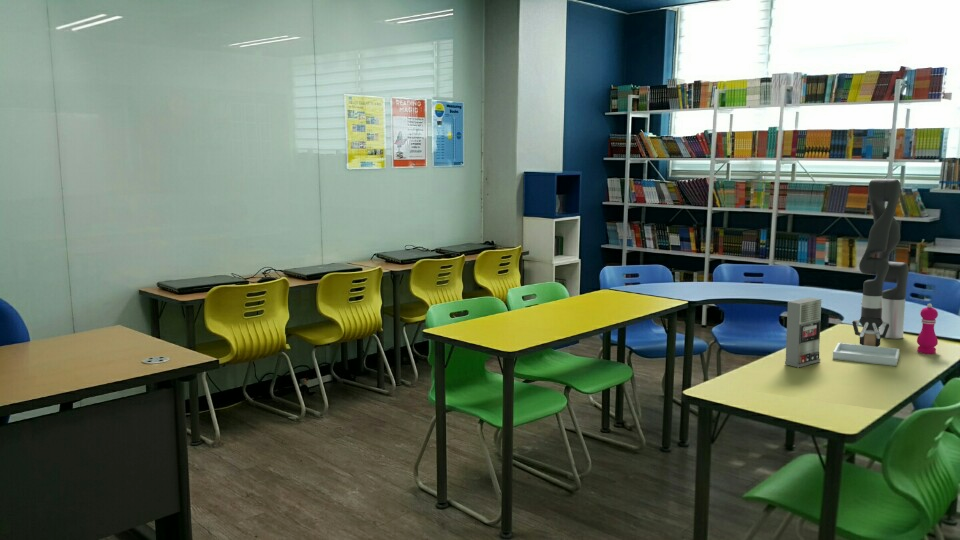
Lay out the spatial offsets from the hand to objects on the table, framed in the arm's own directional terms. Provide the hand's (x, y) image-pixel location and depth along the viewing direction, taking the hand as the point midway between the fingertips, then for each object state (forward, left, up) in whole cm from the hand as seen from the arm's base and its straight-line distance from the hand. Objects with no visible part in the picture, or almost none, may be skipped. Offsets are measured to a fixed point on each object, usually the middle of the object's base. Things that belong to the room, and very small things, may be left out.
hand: (869, 345), depth 298 cm
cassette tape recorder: (+34, -20, -2) cm, 40 cm away
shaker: (0, 0, -1) cm, 1 cm away
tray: (+14, 0, -2) cm, 14 cm away
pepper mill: (-6, +20, -2) cm, 21 cm away
